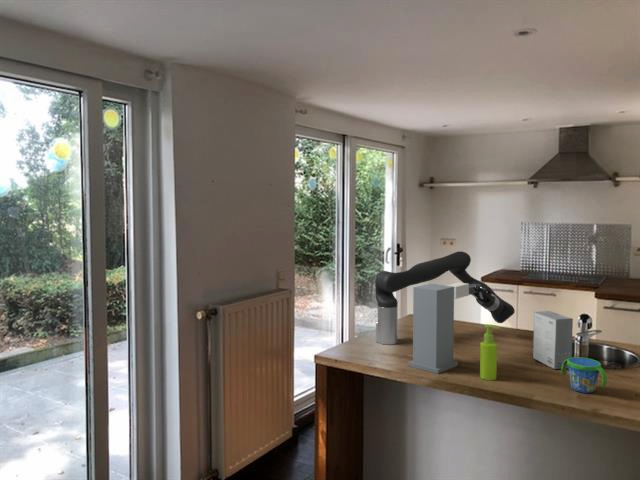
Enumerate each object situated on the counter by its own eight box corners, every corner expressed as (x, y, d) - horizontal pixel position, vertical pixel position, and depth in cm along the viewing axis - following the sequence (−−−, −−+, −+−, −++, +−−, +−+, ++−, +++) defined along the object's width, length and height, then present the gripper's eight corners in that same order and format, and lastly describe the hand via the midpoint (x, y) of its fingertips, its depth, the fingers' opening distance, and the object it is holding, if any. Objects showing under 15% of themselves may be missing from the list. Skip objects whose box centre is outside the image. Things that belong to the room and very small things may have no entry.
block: (455, 298, 214) (455, 286, 214) (445, 297, 218) (445, 285, 217) (482, 291, 229) (482, 280, 228) (472, 290, 232) (472, 279, 232)
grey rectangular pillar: (437, 373, 200) (438, 291, 197) (408, 365, 210) (408, 287, 208) (457, 365, 210) (458, 286, 207) (428, 358, 220) (429, 282, 217)
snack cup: (613, 395, 177) (614, 365, 177) (592, 400, 173) (593, 370, 172) (574, 380, 192) (575, 353, 191) (553, 385, 187) (554, 357, 186)
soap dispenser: (497, 381, 191) (498, 328, 189) (478, 378, 195) (478, 325, 193) (500, 377, 196) (501, 324, 194) (482, 373, 200) (483, 322, 198)
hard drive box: (572, 368, 205) (573, 318, 203) (554, 370, 203) (555, 319, 202) (548, 356, 220) (550, 310, 218) (532, 358, 219) (533, 311, 217)
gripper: (475, 290, 243) (458, 276, 232) (504, 294, 233) (487, 279, 222) (471, 305, 241) (453, 291, 230) (500, 310, 231) (483, 296, 220)
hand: (470, 286), depth 226 cm, fingers closed on block, 4 cm apart
